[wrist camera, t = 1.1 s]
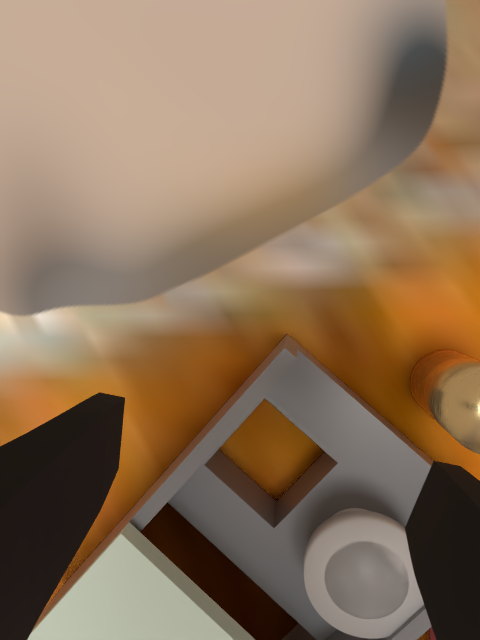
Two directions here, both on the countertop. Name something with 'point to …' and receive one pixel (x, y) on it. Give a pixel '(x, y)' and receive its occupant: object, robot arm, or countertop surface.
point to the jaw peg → (450, 393)
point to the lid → (136, 600)
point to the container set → (432, 634)
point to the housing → (306, 507)
